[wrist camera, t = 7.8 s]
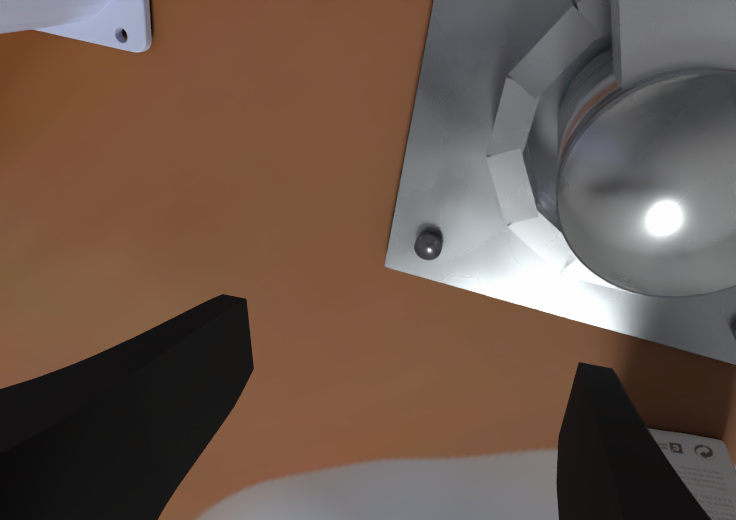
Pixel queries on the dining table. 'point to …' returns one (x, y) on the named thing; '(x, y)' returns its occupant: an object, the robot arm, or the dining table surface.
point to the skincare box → (702, 470)
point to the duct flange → (518, 173)
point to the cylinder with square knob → (654, 151)
